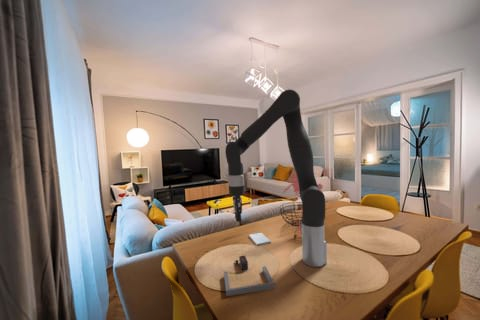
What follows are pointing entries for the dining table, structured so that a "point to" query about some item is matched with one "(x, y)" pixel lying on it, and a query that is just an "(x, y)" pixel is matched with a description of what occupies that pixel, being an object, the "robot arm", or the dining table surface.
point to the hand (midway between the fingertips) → (238, 219)
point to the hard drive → (259, 239)
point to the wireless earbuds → (243, 263)
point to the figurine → (296, 189)
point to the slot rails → (249, 288)
